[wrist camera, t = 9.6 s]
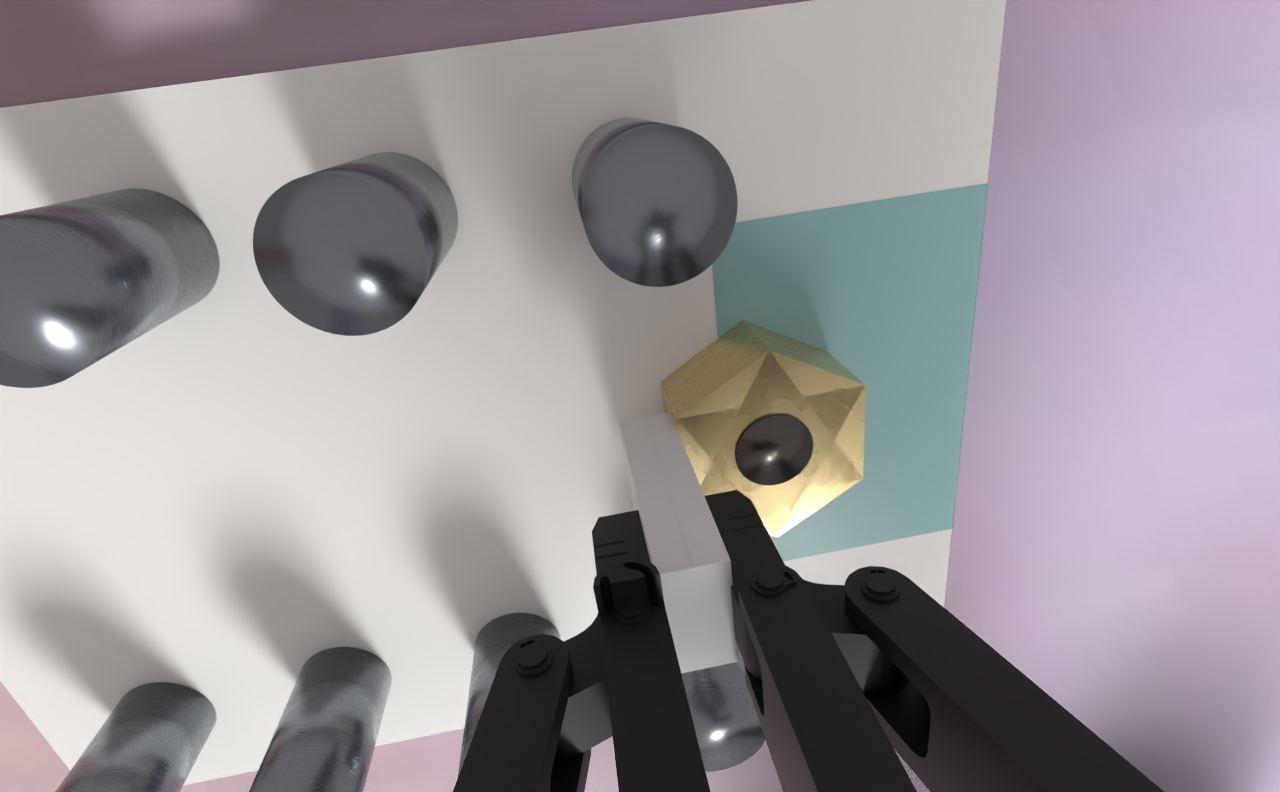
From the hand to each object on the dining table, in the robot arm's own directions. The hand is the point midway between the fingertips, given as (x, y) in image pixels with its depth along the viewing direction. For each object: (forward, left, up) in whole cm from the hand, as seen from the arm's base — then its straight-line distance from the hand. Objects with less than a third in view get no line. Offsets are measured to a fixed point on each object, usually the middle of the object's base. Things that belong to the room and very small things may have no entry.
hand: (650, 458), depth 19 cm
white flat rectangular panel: (+5, 0, -2) cm, 6 cm away
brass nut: (-3, 0, -1) cm, 4 cm away
